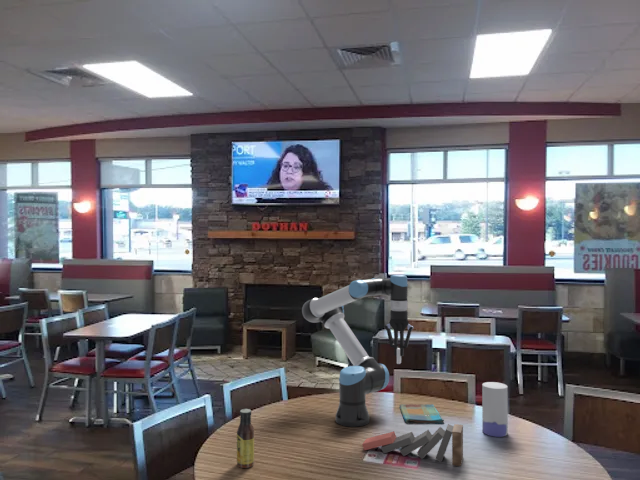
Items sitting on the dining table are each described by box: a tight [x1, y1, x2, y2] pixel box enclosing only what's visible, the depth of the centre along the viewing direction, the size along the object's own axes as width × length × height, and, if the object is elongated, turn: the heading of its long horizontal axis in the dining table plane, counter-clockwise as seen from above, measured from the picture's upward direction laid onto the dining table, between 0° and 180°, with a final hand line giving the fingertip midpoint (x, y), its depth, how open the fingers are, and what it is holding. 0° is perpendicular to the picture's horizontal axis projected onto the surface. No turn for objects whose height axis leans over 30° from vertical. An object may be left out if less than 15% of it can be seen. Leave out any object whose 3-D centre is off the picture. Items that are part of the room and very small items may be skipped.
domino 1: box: [380, 431, 415, 454], centre depth 193 cm, size 2×6×12 cm
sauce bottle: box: [236, 408, 255, 469], centre depth 182 cm, size 7×6×20 cm
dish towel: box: [399, 403, 445, 425], centre depth 235 cm, size 17×23×2 cm
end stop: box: [451, 423, 464, 467], centre depth 185 cm, size 3×8×12 cm, turn 159°
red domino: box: [361, 431, 397, 451], centre depth 196 cm, size 2×6×12 cm
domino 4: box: [435, 423, 454, 463], centre depth 187 cm, size 2×6×12 cm, turn 159°
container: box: [481, 381, 509, 438], centre depth 213 cm, size 10×10×20 cm
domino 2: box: [399, 429, 433, 457], centre depth 190 cm, size 2×6×12 cm
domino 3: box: [416, 426, 446, 460], centre depth 188 cm, size 2×6×12 cm
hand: (399, 363), depth 224 cm, fingers closed
